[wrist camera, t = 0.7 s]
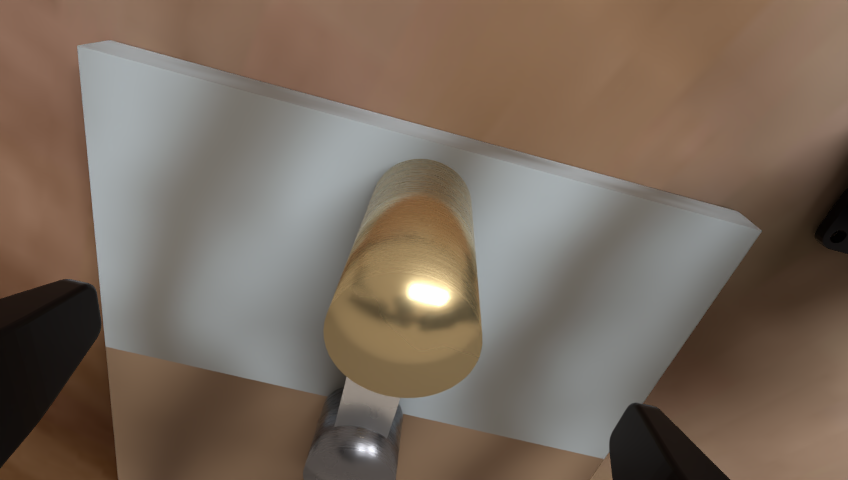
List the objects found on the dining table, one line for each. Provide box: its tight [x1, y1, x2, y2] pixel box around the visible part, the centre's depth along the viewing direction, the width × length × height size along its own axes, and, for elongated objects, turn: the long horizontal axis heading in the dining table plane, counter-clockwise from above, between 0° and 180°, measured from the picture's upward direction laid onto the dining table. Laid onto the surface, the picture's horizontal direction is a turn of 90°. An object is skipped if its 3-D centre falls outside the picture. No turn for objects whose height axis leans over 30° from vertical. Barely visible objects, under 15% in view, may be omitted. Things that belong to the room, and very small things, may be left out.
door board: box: [77, 40, 762, 480], centre depth 21 cm, size 22×24×2 cm
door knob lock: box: [303, 159, 483, 480], centre depth 15 cm, size 13×3×6 cm, turn 165°
